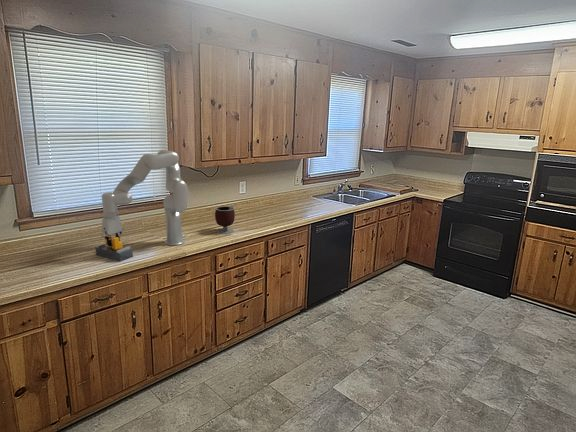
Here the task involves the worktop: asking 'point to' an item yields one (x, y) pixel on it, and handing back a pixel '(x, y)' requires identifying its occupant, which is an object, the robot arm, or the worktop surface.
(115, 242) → the orange stepped block
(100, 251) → the mounting block
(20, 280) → the worktop surface
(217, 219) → the mate gourd
